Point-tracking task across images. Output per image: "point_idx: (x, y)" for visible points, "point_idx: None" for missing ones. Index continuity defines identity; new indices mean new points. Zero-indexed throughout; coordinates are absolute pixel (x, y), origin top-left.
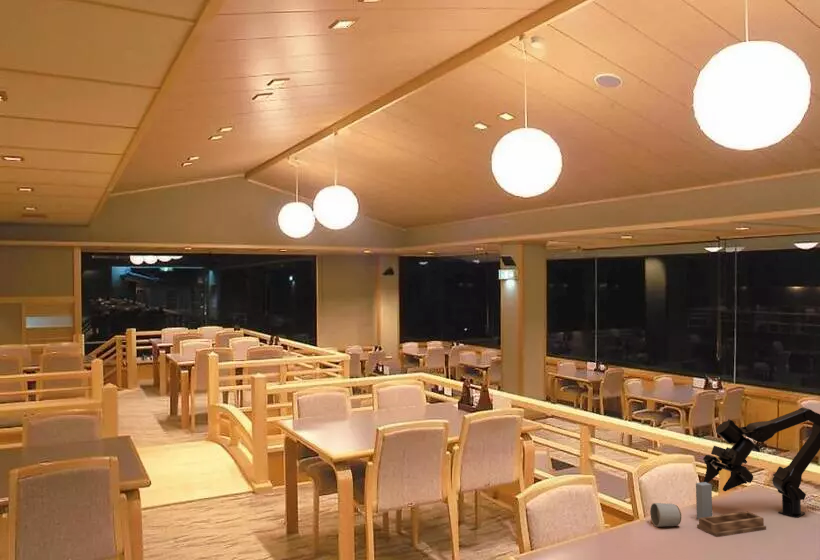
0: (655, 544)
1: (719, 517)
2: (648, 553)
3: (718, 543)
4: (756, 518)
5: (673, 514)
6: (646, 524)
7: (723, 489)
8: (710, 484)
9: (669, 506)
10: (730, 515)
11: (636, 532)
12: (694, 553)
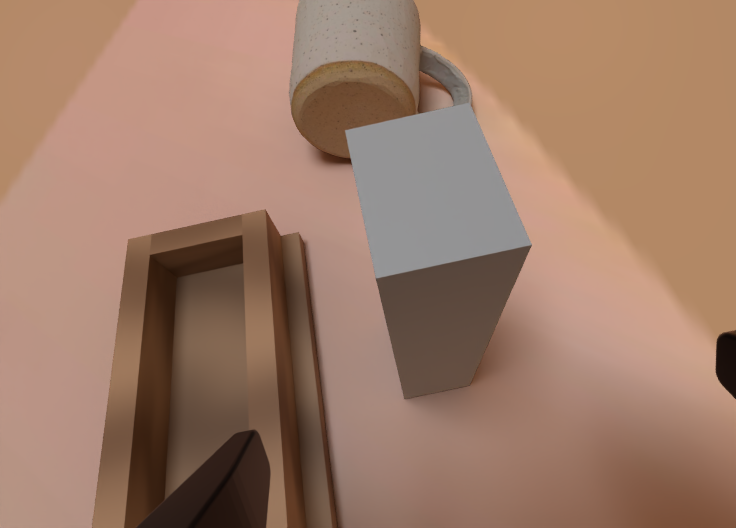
0: (185, 38)
1: (249, 360)
2: (131, 9)
3: (82, 245)
4: None
5: (291, 70)
6: None
7: (235, 437)
8: (376, 261)
9: (315, 25)
10: None
11: None
12: (57, 119)
